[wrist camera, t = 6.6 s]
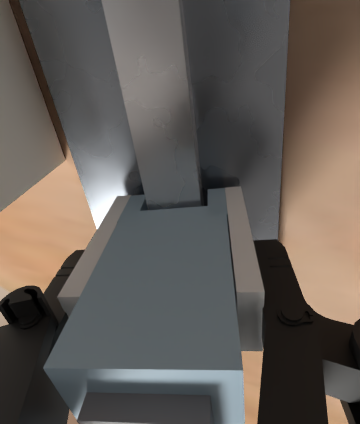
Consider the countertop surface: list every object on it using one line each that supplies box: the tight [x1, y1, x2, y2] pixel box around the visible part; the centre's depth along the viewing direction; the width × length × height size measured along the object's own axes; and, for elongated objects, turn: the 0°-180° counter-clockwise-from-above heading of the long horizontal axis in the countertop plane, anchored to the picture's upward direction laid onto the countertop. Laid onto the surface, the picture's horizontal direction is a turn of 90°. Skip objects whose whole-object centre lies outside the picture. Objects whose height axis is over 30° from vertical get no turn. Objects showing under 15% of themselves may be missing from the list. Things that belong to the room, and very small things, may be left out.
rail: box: [19, 0, 290, 240], centre depth 12 cm, size 25×10×3 cm, turn 8°
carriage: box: [43, 188, 245, 424], centre depth 11 cm, size 7×5×9 cm, turn 8°
